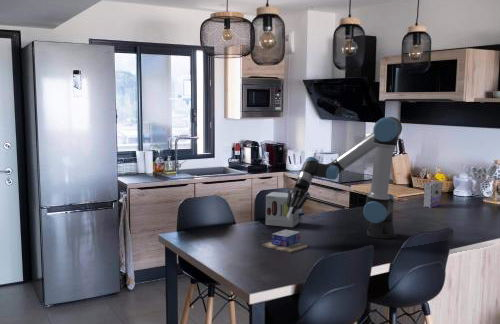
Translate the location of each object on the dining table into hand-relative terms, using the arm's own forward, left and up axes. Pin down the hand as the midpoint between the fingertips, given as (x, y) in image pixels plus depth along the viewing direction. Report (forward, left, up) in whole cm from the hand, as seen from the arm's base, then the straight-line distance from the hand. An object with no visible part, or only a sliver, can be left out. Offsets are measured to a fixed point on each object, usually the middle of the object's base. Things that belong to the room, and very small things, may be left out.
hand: (288, 218), depth 263 cm
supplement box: (+30, -31, -13) cm, 45 cm away
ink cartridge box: (0, -3, -10) cm, 10 cm away
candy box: (-14, -141, -13) cm, 142 cm away
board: (-2, +6, -13) cm, 14 cm away
